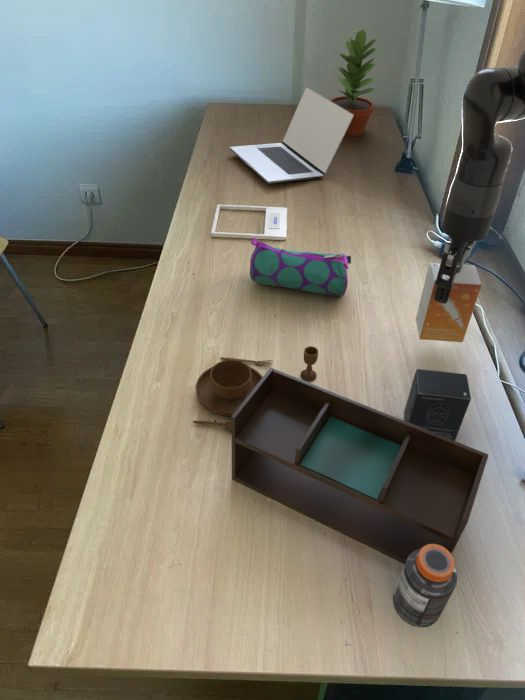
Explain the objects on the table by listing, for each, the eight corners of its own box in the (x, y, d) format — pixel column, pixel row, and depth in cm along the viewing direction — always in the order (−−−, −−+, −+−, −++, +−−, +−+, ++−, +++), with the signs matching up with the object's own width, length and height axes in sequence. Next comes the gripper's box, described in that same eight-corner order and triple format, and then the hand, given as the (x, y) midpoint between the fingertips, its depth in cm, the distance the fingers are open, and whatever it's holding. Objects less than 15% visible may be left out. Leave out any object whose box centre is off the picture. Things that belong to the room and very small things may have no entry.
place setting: (209, 354, 104) (208, 330, 100) (317, 369, 102) (320, 344, 98) (184, 426, 91) (181, 401, 87) (307, 444, 89) (310, 419, 85)
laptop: (229, 150, 170) (233, 88, 159) (298, 144, 180) (306, 86, 169) (267, 185, 153) (275, 119, 142) (341, 176, 163) (354, 114, 152)
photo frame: (286, 236, 134) (211, 232, 134) (286, 240, 135) (211, 236, 135) (287, 207, 145) (217, 203, 145) (286, 210, 146) (217, 207, 146)
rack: (459, 515, 80) (488, 454, 71) (438, 580, 73) (467, 522, 63) (267, 430, 91) (270, 367, 81) (231, 479, 83) (231, 416, 74)
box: (450, 418, 94) (467, 373, 87) (453, 445, 90) (472, 399, 82) (402, 412, 94) (416, 366, 87) (403, 438, 90) (418, 392, 83)
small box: (418, 340, 103) (433, 281, 95) (414, 319, 108) (428, 261, 100) (463, 343, 103) (482, 284, 94) (457, 322, 108) (475, 264, 99)
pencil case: (347, 281, 123) (353, 243, 116) (344, 305, 116) (350, 266, 110) (254, 268, 125) (255, 230, 119) (245, 291, 119) (246, 251, 112)
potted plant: (331, 139, 183) (343, 36, 163) (323, 122, 194) (333, 24, 174) (376, 139, 184) (393, 37, 164) (365, 122, 195) (380, 25, 175)
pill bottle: (435, 582, 73) (458, 536, 65) (444, 630, 68) (470, 586, 61) (389, 580, 73) (406, 533, 65) (395, 627, 68) (415, 583, 61)
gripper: (485, 230, 83) (457, 317, 93) (505, 192, 92) (477, 275, 103) (435, 217, 85) (414, 303, 96) (459, 182, 95) (437, 264, 105)
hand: (447, 289), depth 99 cm, fingers closed on small box, 8 cm apart
